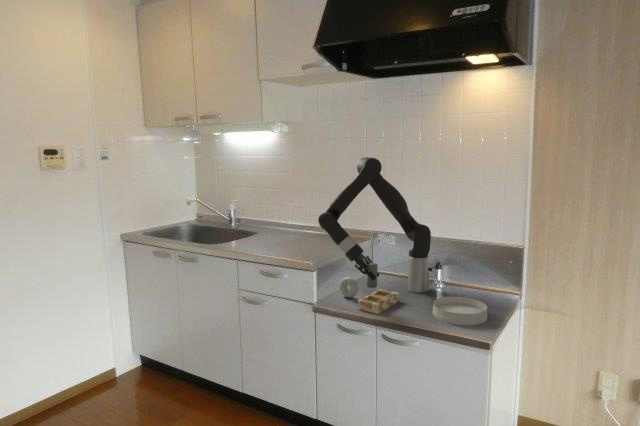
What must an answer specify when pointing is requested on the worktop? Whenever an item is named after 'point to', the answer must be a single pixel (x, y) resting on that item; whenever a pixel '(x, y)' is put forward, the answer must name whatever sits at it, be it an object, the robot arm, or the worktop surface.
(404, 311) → the worktop surface
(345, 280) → the donut
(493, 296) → the worktop surface
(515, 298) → the worktop surface
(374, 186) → the robot arm
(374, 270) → the plug
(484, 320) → the dish
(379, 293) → the socket board
